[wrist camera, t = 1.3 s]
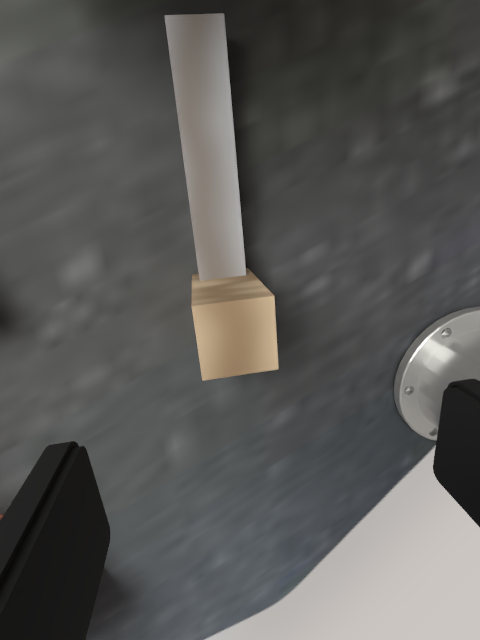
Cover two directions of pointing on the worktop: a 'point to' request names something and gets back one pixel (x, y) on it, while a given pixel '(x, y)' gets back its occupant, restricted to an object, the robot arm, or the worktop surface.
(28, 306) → the worktop surface
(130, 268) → the worktop surface
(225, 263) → the push stick
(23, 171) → the worktop surface
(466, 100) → the worktop surface
